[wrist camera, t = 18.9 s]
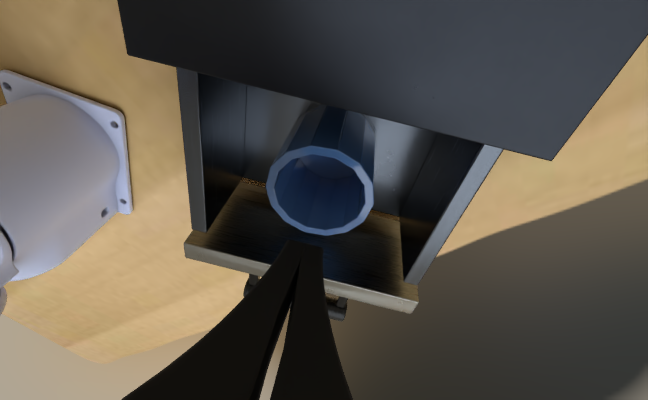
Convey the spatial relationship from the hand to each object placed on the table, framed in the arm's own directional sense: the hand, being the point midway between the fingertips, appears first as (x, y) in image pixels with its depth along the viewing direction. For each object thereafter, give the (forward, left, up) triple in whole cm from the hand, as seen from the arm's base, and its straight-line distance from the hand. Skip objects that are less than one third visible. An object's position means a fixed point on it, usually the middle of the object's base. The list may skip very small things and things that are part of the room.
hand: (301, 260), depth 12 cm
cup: (+1, 0, -8) cm, 8 cm away
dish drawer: (-1, 0, -9) cm, 9 cm away
